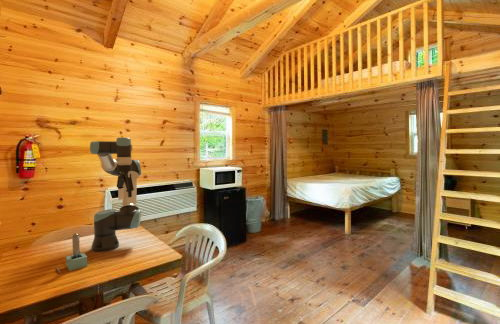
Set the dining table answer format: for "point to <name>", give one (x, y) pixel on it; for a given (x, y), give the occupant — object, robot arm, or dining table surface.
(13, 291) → the dining table surface
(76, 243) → the grey long bar
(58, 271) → the lace
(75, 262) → the green hollow block
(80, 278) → the dining table surface
